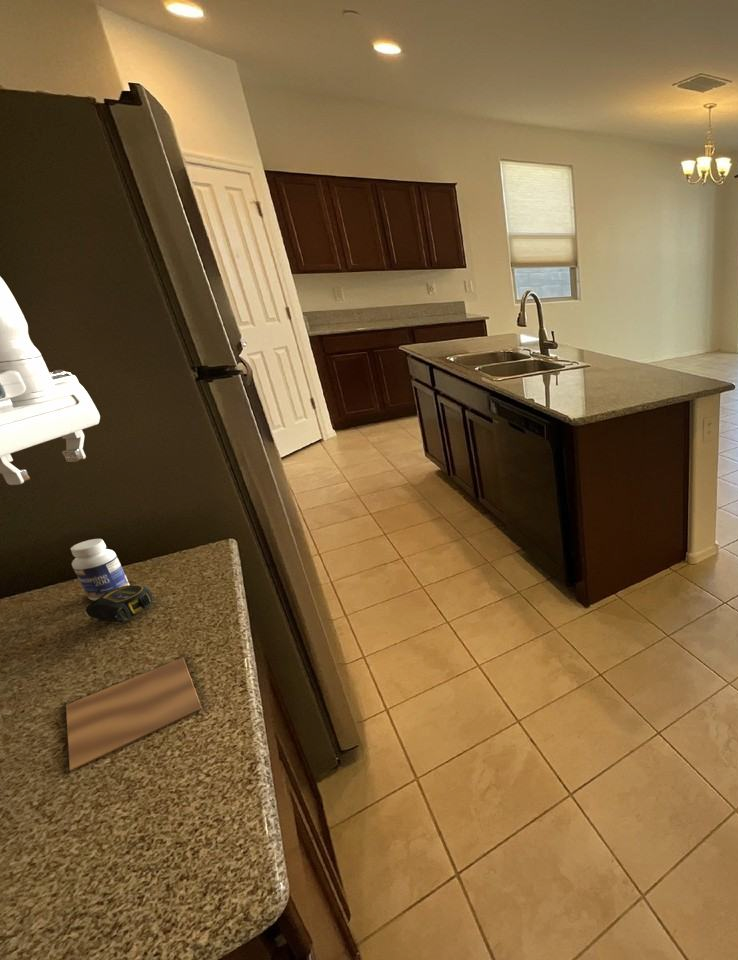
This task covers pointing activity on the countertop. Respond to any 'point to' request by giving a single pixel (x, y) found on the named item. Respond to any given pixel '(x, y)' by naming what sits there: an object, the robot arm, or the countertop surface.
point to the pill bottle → (97, 568)
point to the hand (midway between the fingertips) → (50, 471)
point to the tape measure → (121, 603)
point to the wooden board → (129, 711)
